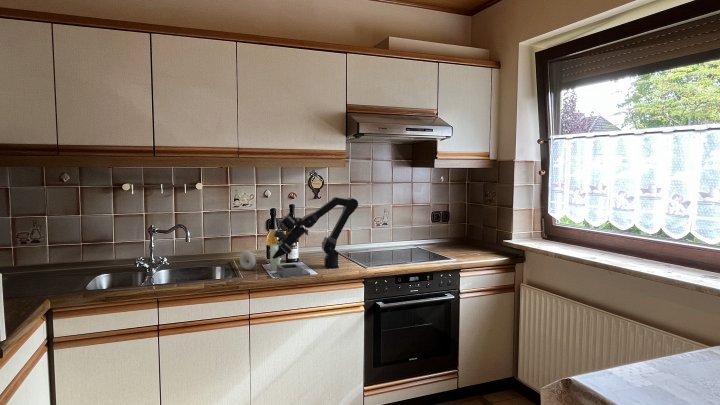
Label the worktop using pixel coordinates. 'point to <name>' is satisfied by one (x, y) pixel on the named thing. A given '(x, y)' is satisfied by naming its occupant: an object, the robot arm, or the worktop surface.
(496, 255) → the worktop surface
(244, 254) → the donut
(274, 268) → the pale green cylinder
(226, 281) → the worktop surface
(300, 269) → the socket
